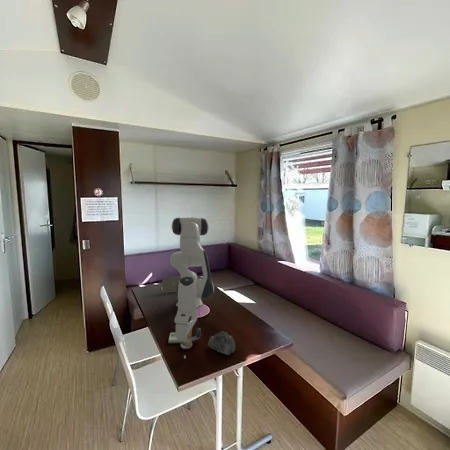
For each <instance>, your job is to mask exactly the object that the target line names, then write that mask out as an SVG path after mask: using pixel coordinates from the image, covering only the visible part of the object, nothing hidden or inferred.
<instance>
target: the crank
mask: <svg viewBox="0 0 450 450" xmlns="http://www.w3.org/2000/svg"><path fill="white" fill-rule="evenodd" d="M201 332H202V329H201V327H196V329H195V333H196V334H195V336H191V342H194V341H197V340H200V338H201V336H202V333H201ZM182 344H183V345H184V346H185V342H184V341H182Z"/></svg>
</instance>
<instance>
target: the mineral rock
mask: <svg viewBox="0 0 450 450" xmlns="http://www.w3.org/2000/svg"><path fill="white" fill-rule="evenodd" d="M207 345H208V346H209V348H210V349H212V350H214V351H217V353H221V354H224V355H227V356H231V355H232V354H234V352H235V351H236V343H235V339H234V337H233V336H232V335H230V334H228V332H226V331H220V332H217V333H215V334H214V335H211V336H209V339H208V341H207Z"/></svg>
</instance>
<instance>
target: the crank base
mask: <svg viewBox="0 0 450 450" xmlns="http://www.w3.org/2000/svg"><path fill="white" fill-rule="evenodd" d="M192 347H193V341H191V346H190V347H185V346H184V345H183V344H182V342H181V343H180V348H182V349H183V350H188V349H191V348H192ZM186 356H187V355H183V359H186V358H187V357H186Z"/></svg>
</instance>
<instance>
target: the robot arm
mask: <svg viewBox="0 0 450 450" xmlns="http://www.w3.org/2000/svg"><path fill="white" fill-rule="evenodd" d="M208 221H209V220H207V219H206V218H203V217H194V216H193V217H176V218H174V219H173V221H172V222H171V231H172V234H174V235H176V236H179V249H180V251H175V252H173V253H171V254H170V258H169V263H170V265H171V266H172V267H173V268H175V269H176V270H177V271H178V273H179V274H180V275H179V276H181V279H180V281H179V283H178V284H177V287H176V297H177V299H178V300H177V302H176V304H175V306H176V307H177V312H176V315H175V318H174V323H175V333H176V339H177V340H181V341H184V342H187V341H188V336H187V335H188V333H189V332H190V330H191V328H192V329H193V327H194V325H195V324H196V322H197V321H198V311H197V308H199V307H202V306H204V305H203V304H204V303H203V301H202V300H203V299H205V300H208V299H210V298H211V297H212V296H213V295H214V292H215V285H214V283H213V278H212V273H211V269H210V263H209V259H208V258H209V257H208V254H207V251H206V249H204V248H203V247H202V244H201V236H206V235H207V234H208V231H209V229H210V226H209V225H210V224H209V222H208ZM196 267H201V270H202V275H203V277H202V278H198V275H197V273H196V272H194V271H192V270H191V269H189V268H196Z"/></svg>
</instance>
